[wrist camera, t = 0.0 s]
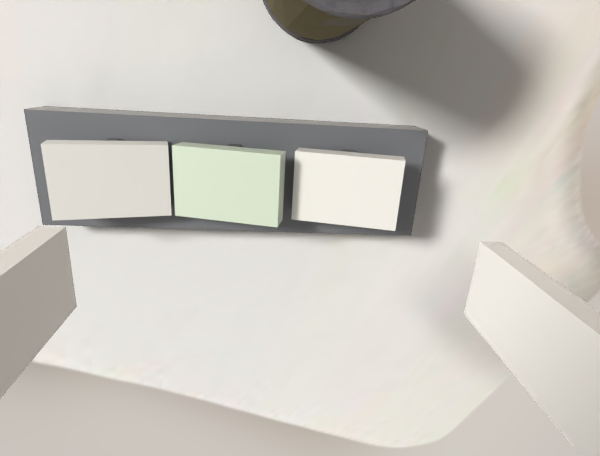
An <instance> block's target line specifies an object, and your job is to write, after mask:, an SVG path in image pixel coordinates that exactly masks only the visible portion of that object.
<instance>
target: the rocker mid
mask: <svg viewBox="0 0 600 456" xmlns="http://www.w3.org/2000/svg"><path fill="white" fill-rule="evenodd" d="M285 157H286V151H279V150H268V149H257V148H245V147H234V146H223V145H212V144H200V143H189V142H181V143H178V144H174V145H172V159H173V181H174V202H175V216H183V217H192V218H200V219H209V220H218V221H226V222H235V223H244V224H252V225H261V226H269V227H278V226H279V224H280V223H281V221H282V220H283V199H284V178H285Z"/></svg>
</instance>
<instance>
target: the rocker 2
mask: <svg viewBox="0 0 600 456" xmlns="http://www.w3.org/2000/svg"><path fill="white" fill-rule="evenodd" d="M404 168H405V158H404V157H402V156H391V155H380V154H368V153H357V152H345V151H334V150H322V149H311V148H298V149H297V150H296V151H295V162H294V180H293V198H292V216H291V219H293V220H302V221H311V222H319V223H328V224H337V225H346V226H355V227H364V228H373V229H382V230H391V231H395V229H396V223H397V216H398V209H399V202H400V195H401V189H402V182H403V175H404Z"/></svg>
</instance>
